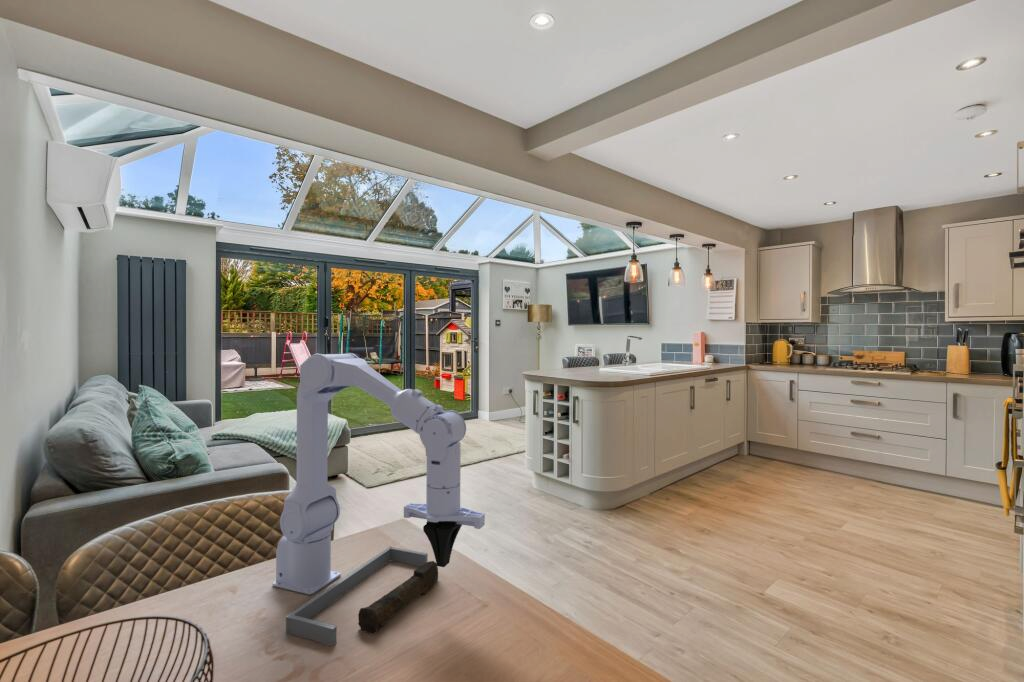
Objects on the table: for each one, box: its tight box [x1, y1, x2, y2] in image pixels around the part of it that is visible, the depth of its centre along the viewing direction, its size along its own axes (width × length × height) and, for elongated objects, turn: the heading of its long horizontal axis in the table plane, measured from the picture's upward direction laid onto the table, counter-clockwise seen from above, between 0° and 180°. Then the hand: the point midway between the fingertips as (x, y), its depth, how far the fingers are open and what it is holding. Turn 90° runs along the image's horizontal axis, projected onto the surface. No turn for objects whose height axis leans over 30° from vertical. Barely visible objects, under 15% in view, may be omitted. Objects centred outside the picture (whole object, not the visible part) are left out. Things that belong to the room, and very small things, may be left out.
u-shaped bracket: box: [285, 546, 429, 647], centre depth 86 cm, size 9×28×2 cm, turn 159°
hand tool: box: [357, 560, 439, 635], centre depth 83 cm, size 19×4×5 cm, turn 151°
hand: (443, 564), depth 80 cm, fingers closed
